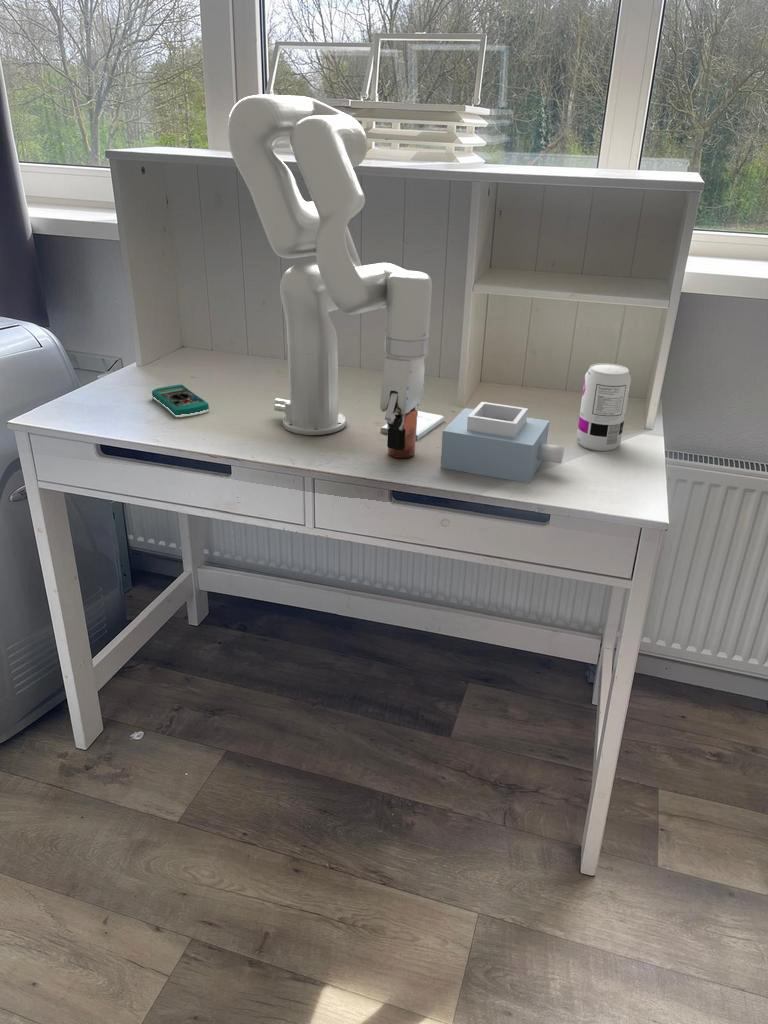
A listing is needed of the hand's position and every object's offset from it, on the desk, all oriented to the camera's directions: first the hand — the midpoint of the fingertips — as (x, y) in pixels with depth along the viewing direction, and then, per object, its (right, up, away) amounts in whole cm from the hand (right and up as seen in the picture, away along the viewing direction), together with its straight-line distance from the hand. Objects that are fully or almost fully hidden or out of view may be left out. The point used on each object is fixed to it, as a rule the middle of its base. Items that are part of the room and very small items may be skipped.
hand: (401, 442), depth 143 cm
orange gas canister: (0, -2, +1) cm, 2 cm away
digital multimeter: (-47, +9, +23) cm, 53 cm away
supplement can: (+38, 0, +7) cm, 39 cm away
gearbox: (+19, -4, -2) cm, 19 cm away
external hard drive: (+3, +4, +14) cm, 15 cm away
